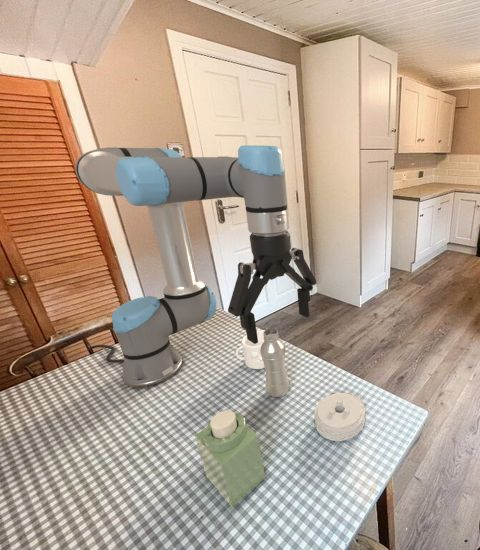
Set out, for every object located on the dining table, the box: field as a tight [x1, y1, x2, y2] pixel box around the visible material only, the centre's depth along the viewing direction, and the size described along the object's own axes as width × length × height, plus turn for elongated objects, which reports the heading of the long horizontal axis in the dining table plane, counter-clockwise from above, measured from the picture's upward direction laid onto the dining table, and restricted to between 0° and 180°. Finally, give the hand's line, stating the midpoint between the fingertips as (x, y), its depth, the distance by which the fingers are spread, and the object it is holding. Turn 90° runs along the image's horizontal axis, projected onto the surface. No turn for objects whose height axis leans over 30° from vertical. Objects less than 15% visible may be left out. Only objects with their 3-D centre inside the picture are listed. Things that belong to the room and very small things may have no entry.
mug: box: [234, 329, 265, 370], centre depth 97 cm, size 12×10×9 cm
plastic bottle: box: [260, 328, 291, 398], centre depth 83 cm, size 6×7×20 cm
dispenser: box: [194, 412, 266, 508], centre depth 61 cm, size 10×8×14 cm
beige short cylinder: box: [209, 410, 237, 439], centre depth 58 cm, size 4×4×2 cm
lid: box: [313, 392, 366, 442], centre depth 76 cm, size 13×13×5 cm
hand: (280, 327), depth 66 cm, fingers open, 13 cm apart
